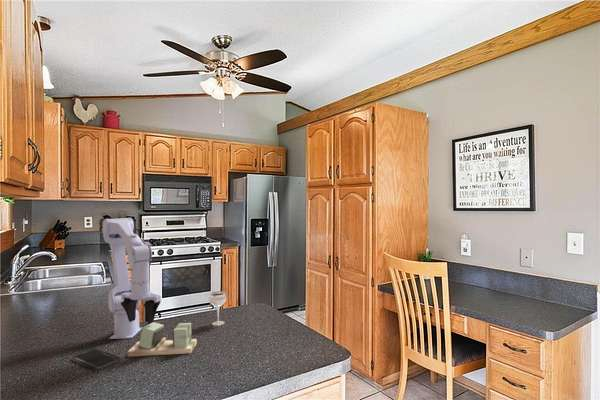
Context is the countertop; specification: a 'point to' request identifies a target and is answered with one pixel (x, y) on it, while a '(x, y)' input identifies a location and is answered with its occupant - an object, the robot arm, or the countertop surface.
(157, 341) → the block
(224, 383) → the countertop surface
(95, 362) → the phone
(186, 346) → the block holder
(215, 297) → the wineglass
